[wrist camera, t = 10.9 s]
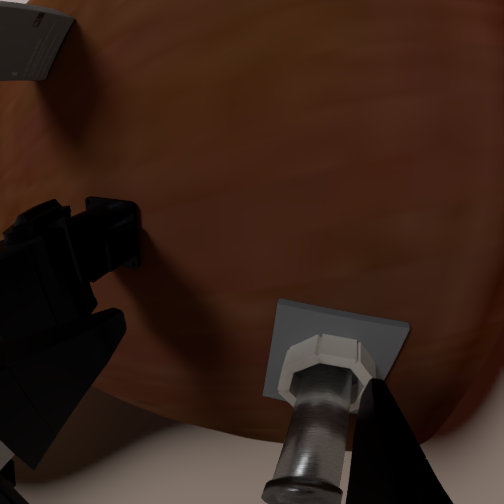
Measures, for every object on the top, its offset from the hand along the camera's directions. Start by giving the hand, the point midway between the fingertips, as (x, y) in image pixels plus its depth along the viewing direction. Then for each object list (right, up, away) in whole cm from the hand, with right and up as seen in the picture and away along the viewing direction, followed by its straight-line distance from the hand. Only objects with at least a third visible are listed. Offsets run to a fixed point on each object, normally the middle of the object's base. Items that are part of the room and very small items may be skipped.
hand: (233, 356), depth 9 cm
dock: (+8, -7, +15) cm, 18 cm away
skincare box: (-22, +28, +10) cm, 37 cm away
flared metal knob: (+7, -7, +15) cm, 18 cm away
